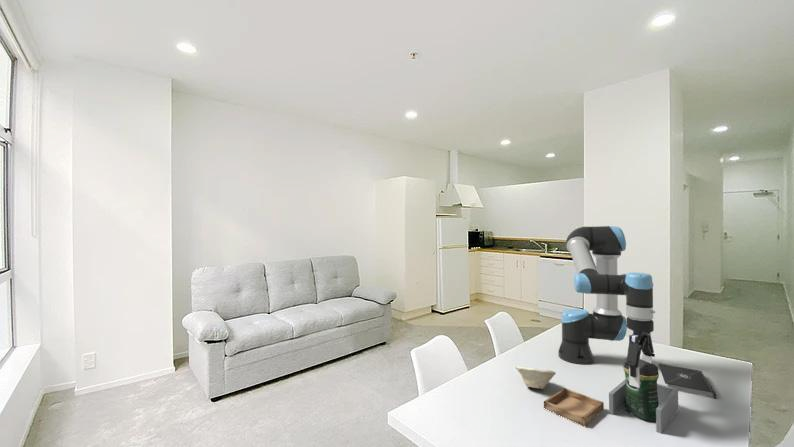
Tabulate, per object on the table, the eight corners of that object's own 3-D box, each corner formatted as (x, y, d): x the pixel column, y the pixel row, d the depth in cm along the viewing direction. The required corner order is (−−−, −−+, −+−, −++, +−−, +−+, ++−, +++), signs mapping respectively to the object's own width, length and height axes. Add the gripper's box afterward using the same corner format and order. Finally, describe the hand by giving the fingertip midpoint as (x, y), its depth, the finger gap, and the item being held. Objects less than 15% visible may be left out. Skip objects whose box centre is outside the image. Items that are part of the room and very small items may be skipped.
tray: (543, 409, 117) (543, 401, 117) (564, 394, 127) (564, 387, 127) (584, 426, 106) (584, 418, 106) (603, 410, 116) (603, 402, 116)
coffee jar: (665, 420, 110) (663, 364, 110) (646, 424, 108) (645, 366, 108) (637, 405, 119) (636, 353, 119) (619, 408, 117) (618, 355, 117)
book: (716, 400, 123) (716, 392, 123) (665, 390, 131) (665, 382, 131) (702, 377, 141) (702, 370, 141) (658, 370, 149) (658, 363, 149)
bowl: (555, 383, 136) (555, 359, 136) (556, 399, 124) (555, 372, 124) (517, 376, 143) (517, 353, 143) (514, 391, 130) (513, 366, 130)
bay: (609, 413, 114) (608, 392, 114) (630, 393, 127) (630, 375, 127) (661, 433, 103) (660, 410, 103) (678, 409, 116) (678, 389, 116)
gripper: (641, 327, 103) (642, 395, 103) (663, 314, 119) (664, 373, 118) (613, 322, 109) (615, 387, 109) (638, 310, 124) (639, 366, 124)
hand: (641, 380), depth 113 cm, fingers open, 13 cm apart
